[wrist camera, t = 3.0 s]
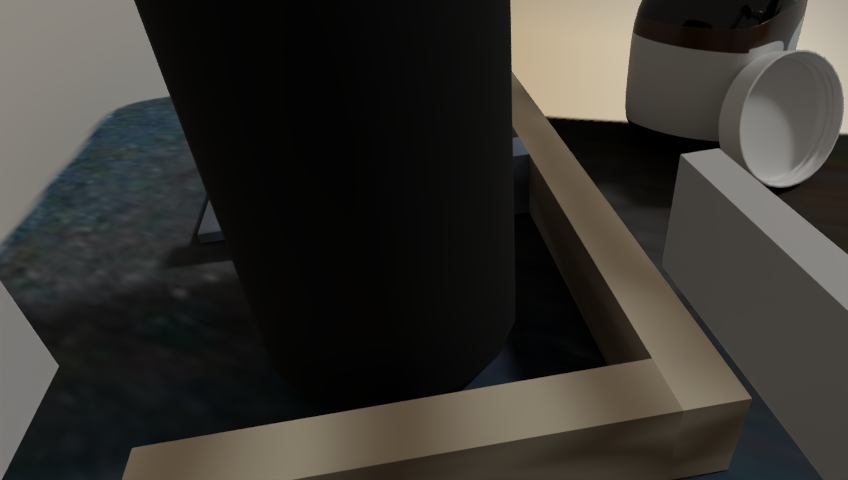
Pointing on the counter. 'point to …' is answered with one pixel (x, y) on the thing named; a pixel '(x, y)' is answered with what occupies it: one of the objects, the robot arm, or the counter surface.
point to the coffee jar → (356, 180)
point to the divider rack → (530, 399)
